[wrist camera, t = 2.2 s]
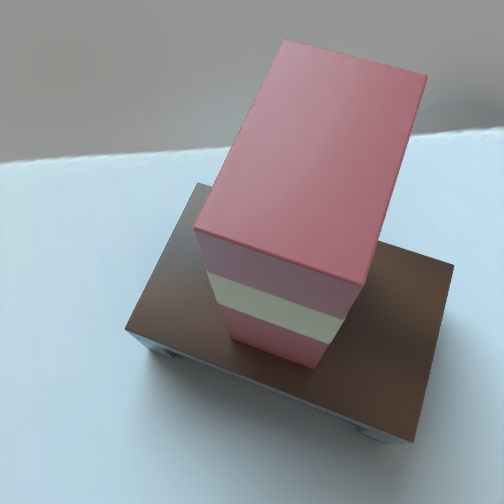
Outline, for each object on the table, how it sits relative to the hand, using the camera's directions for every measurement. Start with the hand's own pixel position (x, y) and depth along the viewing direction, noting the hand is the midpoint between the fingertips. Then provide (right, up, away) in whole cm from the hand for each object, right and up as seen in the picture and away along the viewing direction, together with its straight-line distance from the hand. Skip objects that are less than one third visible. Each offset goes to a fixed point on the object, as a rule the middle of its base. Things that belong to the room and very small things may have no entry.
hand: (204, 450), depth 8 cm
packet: (+3, +2, +11) cm, 12 cm away
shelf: (+3, 0, +15) cm, 15 cm away
